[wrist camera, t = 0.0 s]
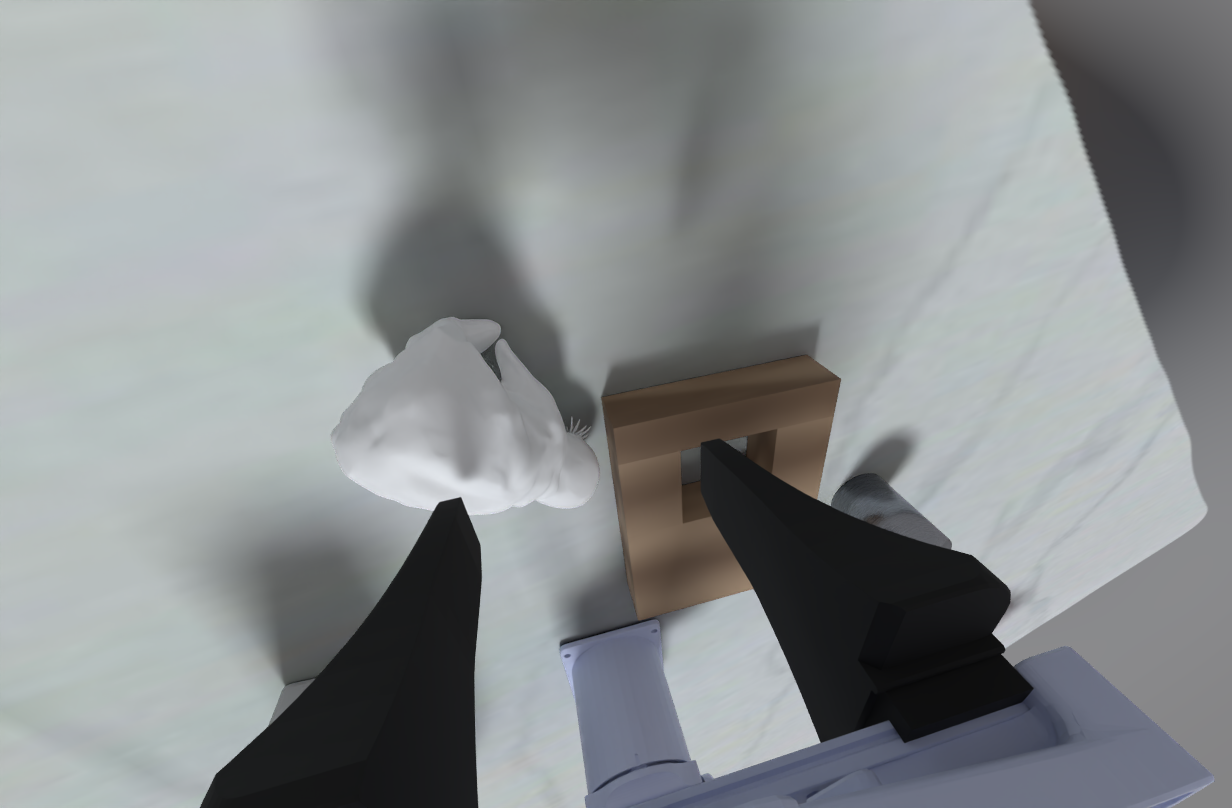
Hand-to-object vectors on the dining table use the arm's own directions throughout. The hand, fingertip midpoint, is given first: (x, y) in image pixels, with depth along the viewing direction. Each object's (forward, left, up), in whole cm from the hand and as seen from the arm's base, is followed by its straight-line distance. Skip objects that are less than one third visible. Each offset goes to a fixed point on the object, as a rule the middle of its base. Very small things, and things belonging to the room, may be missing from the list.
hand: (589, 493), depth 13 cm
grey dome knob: (-16, -20, -10) cm, 28 cm away
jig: (-11, -8, -10) cm, 17 cm away
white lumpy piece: (-2, +3, -10) cm, 11 cm away
